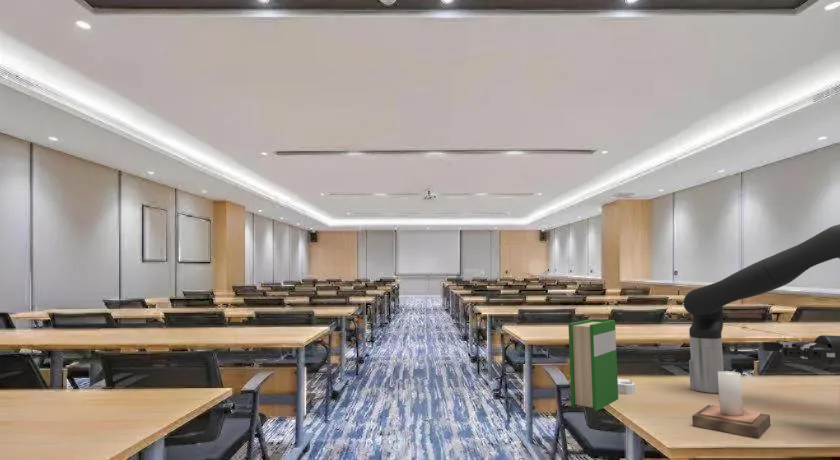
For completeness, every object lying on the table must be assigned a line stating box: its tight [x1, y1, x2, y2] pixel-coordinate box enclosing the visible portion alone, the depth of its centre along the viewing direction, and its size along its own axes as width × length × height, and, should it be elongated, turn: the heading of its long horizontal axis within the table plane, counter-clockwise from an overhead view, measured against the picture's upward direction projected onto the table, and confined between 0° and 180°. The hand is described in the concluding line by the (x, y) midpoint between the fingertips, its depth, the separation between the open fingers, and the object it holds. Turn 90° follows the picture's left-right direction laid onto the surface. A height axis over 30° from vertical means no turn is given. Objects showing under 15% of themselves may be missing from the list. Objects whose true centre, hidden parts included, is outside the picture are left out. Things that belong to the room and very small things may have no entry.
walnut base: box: [691, 404, 772, 439], centre depth 125 cm, size 14×14×3 cm
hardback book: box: [568, 318, 619, 412], centre depth 149 cm, size 18×7×24 cm, turn 139°
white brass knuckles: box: [617, 378, 636, 395], centre depth 166 cm, size 3×18×15 cm
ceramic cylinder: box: [718, 370, 744, 416], centre depth 126 cm, size 5×5×10 cm
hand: (772, 349), depth 125 cm, fingers open, 8 cm apart
